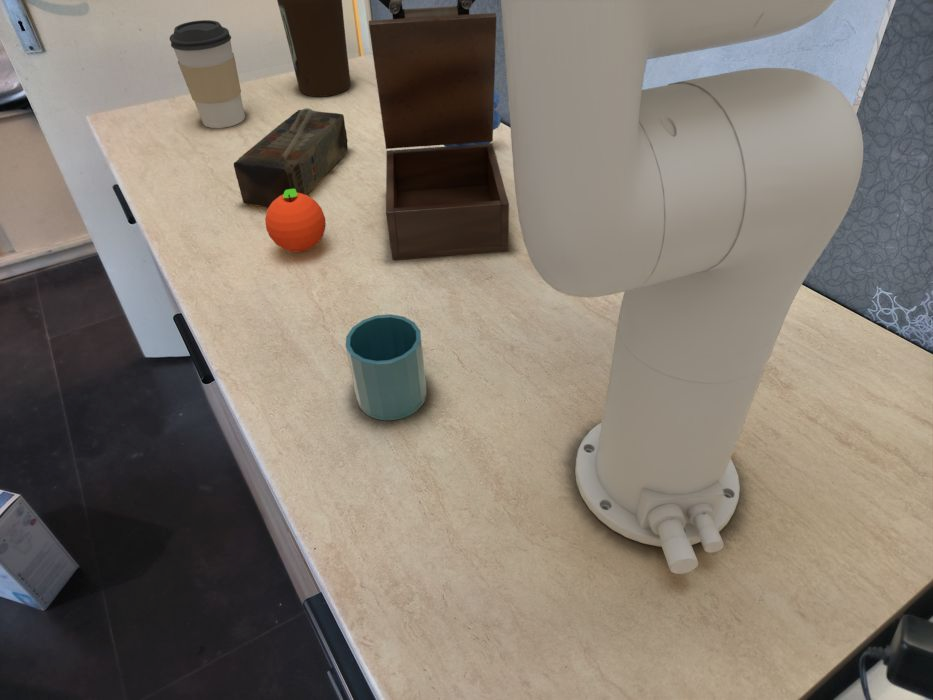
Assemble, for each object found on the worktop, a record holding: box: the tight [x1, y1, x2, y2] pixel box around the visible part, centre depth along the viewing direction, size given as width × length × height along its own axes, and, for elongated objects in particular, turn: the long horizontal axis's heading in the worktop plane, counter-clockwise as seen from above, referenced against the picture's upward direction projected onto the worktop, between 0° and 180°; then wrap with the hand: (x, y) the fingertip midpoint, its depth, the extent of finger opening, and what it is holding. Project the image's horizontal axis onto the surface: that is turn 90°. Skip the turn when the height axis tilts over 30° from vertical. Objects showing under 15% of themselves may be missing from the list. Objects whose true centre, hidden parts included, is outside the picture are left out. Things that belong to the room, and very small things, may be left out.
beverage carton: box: [233, 107, 349, 208], centre depth 91 cm, size 8×19×7 cm, turn 164°
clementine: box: [264, 189, 327, 253], centre depth 77 cm, size 8×7×7 cm
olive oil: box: [276, 0, 351, 97], centre depth 111 cm, size 11×11×25 cm
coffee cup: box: [169, 19, 246, 129], centre depth 104 cm, size 9×9×15 cm
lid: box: [368, 5, 498, 150], centre depth 78 cm, size 17×14×6 cm
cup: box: [345, 313, 428, 422], centre depth 58 cm, size 6×6×7 cm
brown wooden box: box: [385, 142, 510, 261], centre depth 81 cm, size 16×14×6 cm
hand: (432, 44), depth 77 cm, fingers closed on lid, 6 cm apart
